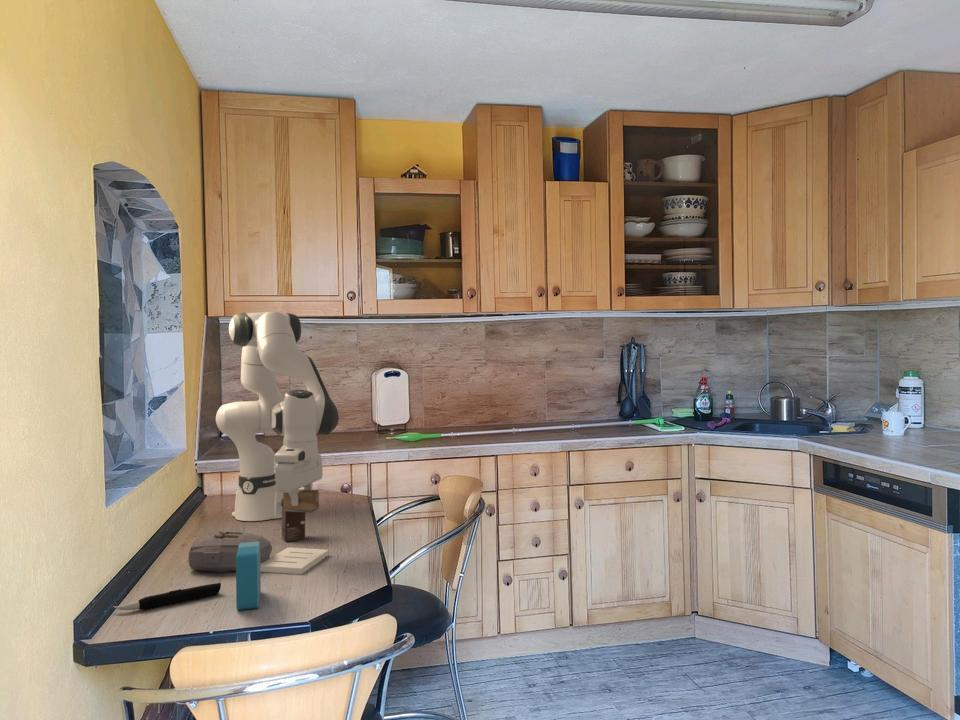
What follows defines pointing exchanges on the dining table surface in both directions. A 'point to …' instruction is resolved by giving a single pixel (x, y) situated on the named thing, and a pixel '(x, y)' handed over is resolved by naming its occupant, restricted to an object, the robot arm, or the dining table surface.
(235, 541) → the grey rounded bag
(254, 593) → the teal arch block
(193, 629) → the dining table surface
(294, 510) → the block
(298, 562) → the board
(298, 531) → the box
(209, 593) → the utility knife
